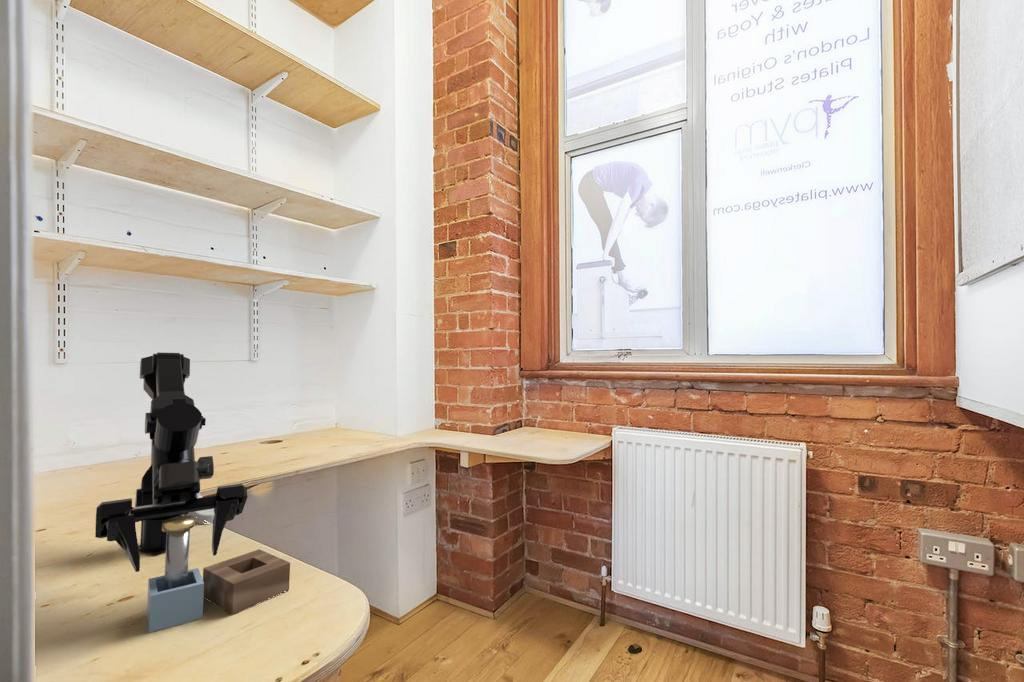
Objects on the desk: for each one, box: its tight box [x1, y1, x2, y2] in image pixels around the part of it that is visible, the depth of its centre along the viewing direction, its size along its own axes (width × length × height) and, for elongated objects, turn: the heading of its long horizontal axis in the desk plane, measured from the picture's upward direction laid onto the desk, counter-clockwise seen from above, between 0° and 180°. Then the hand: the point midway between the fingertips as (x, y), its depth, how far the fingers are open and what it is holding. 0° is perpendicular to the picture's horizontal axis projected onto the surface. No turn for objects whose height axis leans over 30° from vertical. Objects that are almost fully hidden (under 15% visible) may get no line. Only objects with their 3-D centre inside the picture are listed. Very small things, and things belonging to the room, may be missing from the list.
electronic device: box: [185, 482, 214, 525], centre depth 112 cm, size 5×10×15 cm
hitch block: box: [202, 548, 291, 616], centre depth 77 cm, size 9×9×4 cm
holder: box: [146, 567, 204, 634], centre depth 70 cm, size 6×6×5 cm
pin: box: [162, 515, 196, 590], centre depth 70 cm, size 4×4×14 cm
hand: (178, 562), depth 69 cm, fingers open, 9 cm apart
